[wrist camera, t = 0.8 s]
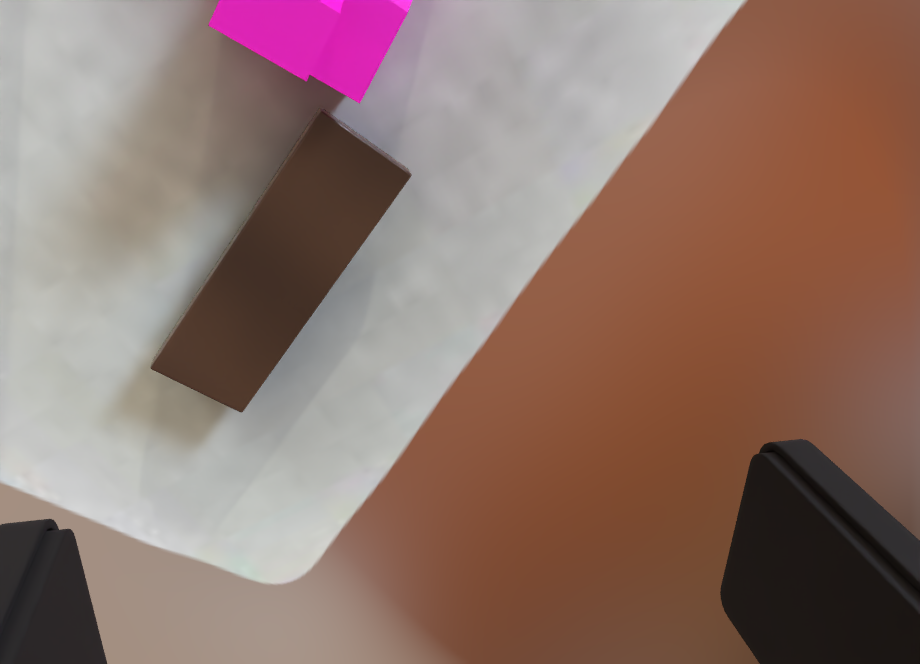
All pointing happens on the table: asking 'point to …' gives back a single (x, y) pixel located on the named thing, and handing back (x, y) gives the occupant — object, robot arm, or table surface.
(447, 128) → the table surface
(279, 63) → the toy block
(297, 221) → the brown rectangular block
